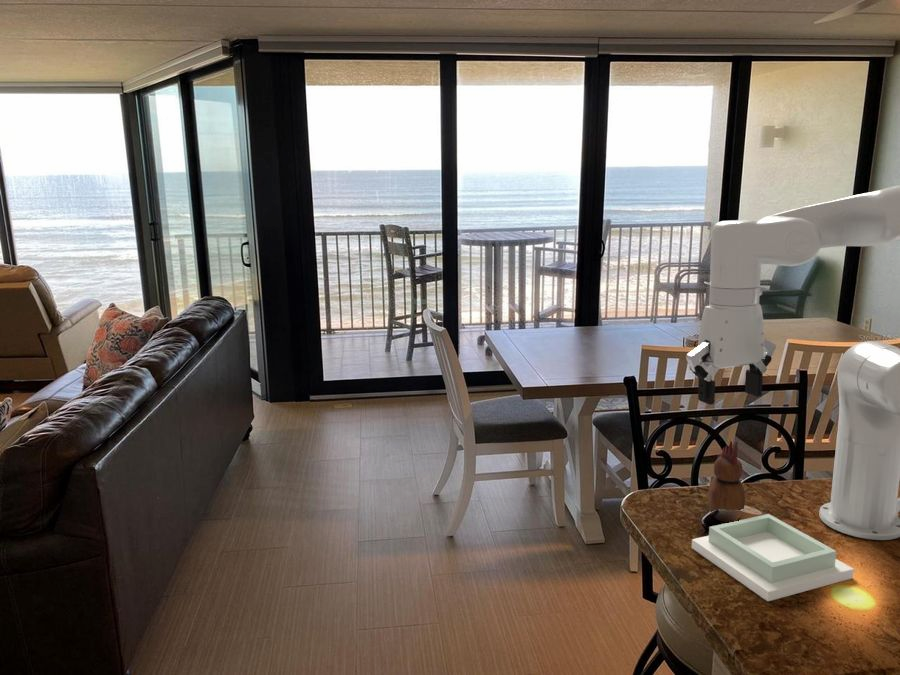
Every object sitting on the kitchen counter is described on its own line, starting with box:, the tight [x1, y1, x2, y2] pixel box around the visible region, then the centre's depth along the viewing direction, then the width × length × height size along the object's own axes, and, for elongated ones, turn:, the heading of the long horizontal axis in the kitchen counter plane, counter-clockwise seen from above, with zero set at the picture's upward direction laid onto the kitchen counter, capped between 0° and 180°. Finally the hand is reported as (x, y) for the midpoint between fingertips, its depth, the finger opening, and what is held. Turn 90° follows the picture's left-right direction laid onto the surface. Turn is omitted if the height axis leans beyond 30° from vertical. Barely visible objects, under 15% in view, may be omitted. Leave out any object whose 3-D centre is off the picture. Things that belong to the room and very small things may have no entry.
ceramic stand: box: [691, 513, 855, 602], centre depth 104 cm, size 16×16×4 cm
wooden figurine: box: [707, 440, 746, 513], centre depth 117 cm, size 7×6×15 cm
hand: (729, 398), depth 113 cm, fingers open, 9 cm apart
